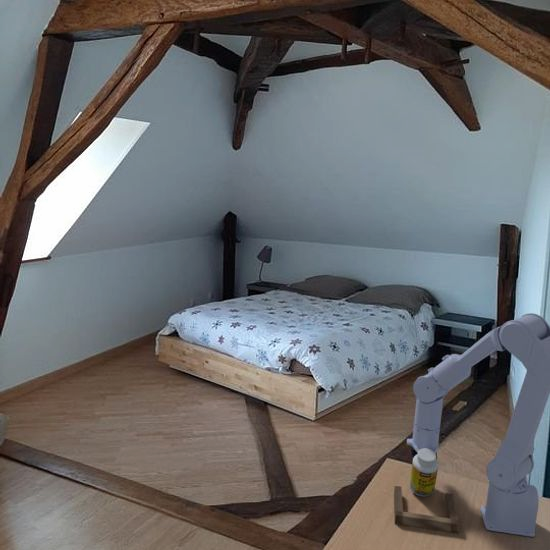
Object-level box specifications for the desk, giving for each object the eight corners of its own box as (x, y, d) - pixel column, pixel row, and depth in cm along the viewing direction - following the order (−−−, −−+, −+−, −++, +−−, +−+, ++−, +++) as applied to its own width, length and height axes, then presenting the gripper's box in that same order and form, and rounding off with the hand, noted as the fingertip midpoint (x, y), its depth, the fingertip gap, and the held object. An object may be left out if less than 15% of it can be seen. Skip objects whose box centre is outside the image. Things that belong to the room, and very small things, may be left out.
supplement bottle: (414, 499, 127) (418, 465, 122) (405, 479, 131) (410, 446, 127) (438, 496, 127) (444, 462, 122) (429, 477, 132) (434, 443, 127)
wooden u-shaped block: (451, 502, 126) (452, 493, 125) (458, 533, 115) (459, 524, 115) (393, 493, 128) (394, 485, 127) (394, 523, 117) (395, 514, 117)
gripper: (407, 409, 137) (402, 461, 140) (410, 437, 123) (404, 494, 126) (438, 413, 136) (432, 465, 139) (444, 441, 122) (437, 498, 125)
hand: (421, 479), depth 132 cm, fingers closed
